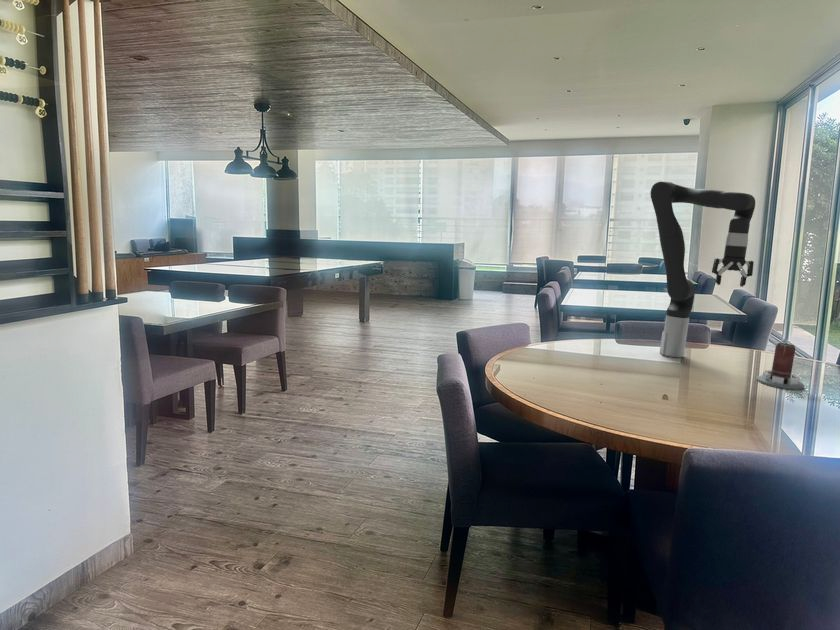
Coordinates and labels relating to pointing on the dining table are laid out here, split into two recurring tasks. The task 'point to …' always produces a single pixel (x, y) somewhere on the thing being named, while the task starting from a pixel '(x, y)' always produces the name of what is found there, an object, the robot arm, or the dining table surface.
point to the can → (783, 361)
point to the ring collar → (780, 379)
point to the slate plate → (784, 386)
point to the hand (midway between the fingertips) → (729, 285)
